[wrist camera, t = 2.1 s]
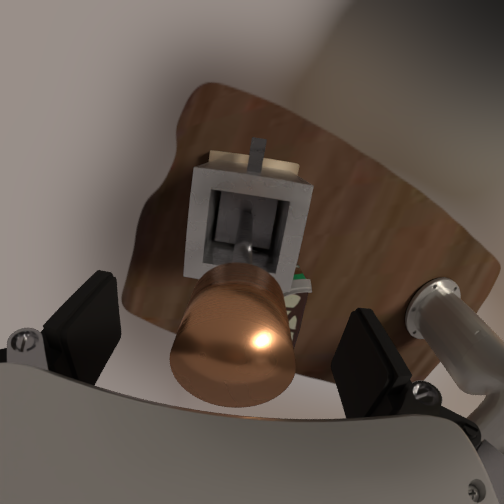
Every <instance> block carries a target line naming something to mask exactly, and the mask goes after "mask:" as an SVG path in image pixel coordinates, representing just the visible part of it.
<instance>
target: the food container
mask: <svg viewBox="0 0 504 504" xmlns="http://www.w3.org/2000/svg"><path fill="white" fill-rule="evenodd" d="M282 292H283V295H284V300H285V305H286V311H287V316H288V321H289V327H290V332H291V338H292V343H293V349H294V347H295V343H296V340H297V337H298V334H299V331H300V327H301V322H302V317H303V313H304V309H305V305H306V301H307V296H308V292H312V290H311V282H310V279H306V278H305V276H304V275H303V273H302V271H301V269H300V267H299V265H298V264H296V268H295V272H294V277H293V281H292V285H291V289H290V292H286V291H282Z"/></svg>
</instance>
